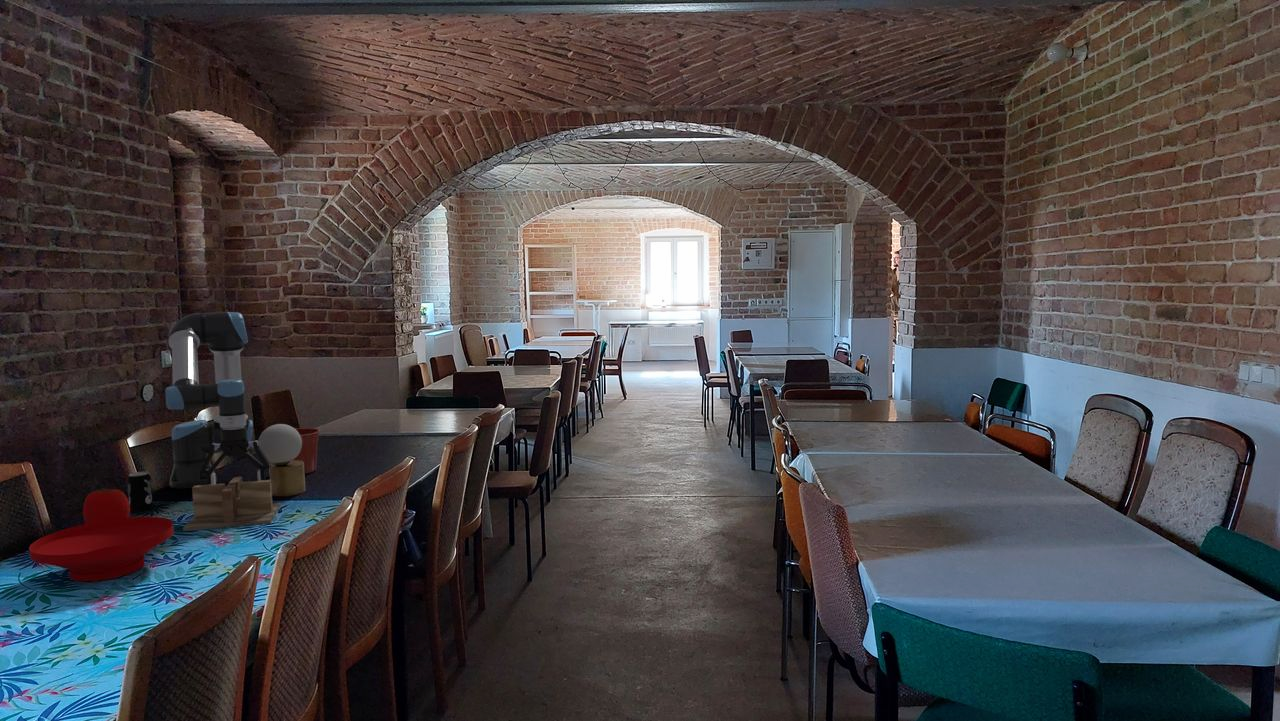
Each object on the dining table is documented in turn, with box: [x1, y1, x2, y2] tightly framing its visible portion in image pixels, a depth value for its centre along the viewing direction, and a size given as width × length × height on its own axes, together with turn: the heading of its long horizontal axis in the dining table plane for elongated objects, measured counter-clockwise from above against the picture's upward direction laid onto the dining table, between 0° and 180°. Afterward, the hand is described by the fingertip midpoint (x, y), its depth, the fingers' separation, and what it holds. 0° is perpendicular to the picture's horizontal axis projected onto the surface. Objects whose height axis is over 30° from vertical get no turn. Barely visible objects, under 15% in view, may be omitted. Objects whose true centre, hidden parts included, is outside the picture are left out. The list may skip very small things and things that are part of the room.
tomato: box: [82, 487, 131, 524], centre depth 230 cm, size 13×11×14 cm
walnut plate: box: [222, 476, 243, 523], centre depth 244 cm, size 18×2×10 cm, turn 17°
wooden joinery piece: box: [182, 479, 281, 532], centre depth 244 cm, size 20×24×11 cm
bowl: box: [28, 516, 175, 582], centre depth 199 cm, size 30×30×10 cm
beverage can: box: [126, 471, 154, 512], centre depth 256 cm, size 7×7×12 cm
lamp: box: [257, 423, 306, 498], centre depth 271 cm, size 15×14×25 cm
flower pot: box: [293, 427, 321, 475], centre depth 305 cm, size 16×16×16 cm
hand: (237, 491), depth 251 cm, fingers open, 13 cm apart
